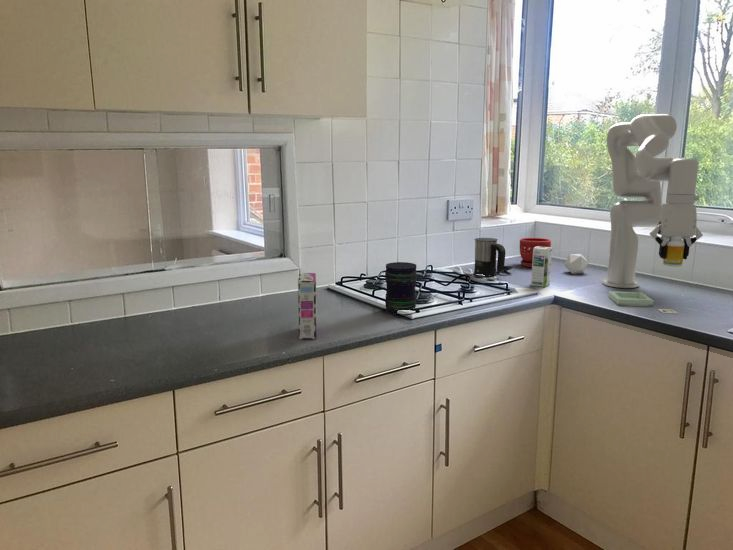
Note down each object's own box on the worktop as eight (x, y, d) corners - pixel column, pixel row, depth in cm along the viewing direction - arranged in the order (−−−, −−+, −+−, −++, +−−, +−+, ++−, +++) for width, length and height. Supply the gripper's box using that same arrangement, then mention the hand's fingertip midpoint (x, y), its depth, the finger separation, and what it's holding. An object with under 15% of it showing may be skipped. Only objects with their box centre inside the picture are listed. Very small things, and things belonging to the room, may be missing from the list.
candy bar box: (317, 339, 155) (316, 281, 152) (298, 340, 155) (297, 281, 151) (317, 327, 166) (316, 272, 163) (300, 327, 166) (298, 272, 162)
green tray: (608, 296, 199) (608, 291, 199) (641, 297, 198) (642, 292, 197) (617, 305, 189) (618, 299, 188) (652, 306, 187) (653, 300, 187)
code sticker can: (657, 309, 184) (657, 308, 184) (671, 309, 183) (671, 309, 183) (662, 312, 180) (662, 312, 180) (677, 313, 179) (677, 313, 179)
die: (586, 277, 232) (594, 257, 234) (568, 267, 231) (577, 246, 234) (575, 280, 240) (583, 260, 242) (558, 270, 239) (566, 250, 242)
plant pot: (555, 266, 250) (557, 239, 247) (534, 270, 244) (535, 242, 241) (533, 261, 261) (535, 235, 258) (512, 264, 255) (513, 238, 252)
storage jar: (418, 315, 178) (419, 268, 175) (386, 315, 177) (387, 268, 174) (413, 306, 188) (414, 261, 185) (383, 307, 187) (383, 262, 184)
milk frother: (469, 275, 234) (470, 239, 231) (485, 268, 247) (486, 234, 243) (502, 279, 226) (504, 242, 223) (516, 272, 239) (518, 237, 235)
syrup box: (530, 285, 216) (532, 247, 213) (535, 282, 221) (537, 245, 218) (545, 287, 213) (548, 249, 210) (550, 284, 218) (552, 246, 215)
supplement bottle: (684, 267, 175) (688, 235, 173) (665, 266, 176) (669, 235, 174) (678, 263, 180) (682, 233, 178) (660, 263, 182) (663, 232, 179)
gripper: (704, 199, 176) (697, 256, 180) (646, 198, 179) (640, 255, 183) (715, 201, 169) (707, 261, 173) (654, 200, 171) (648, 260, 175)
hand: (673, 257), depth 178 cm, fingers closed on supplement bottle, 5 cm apart
